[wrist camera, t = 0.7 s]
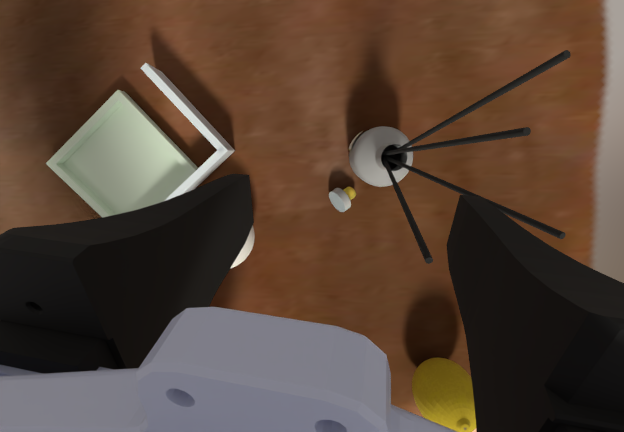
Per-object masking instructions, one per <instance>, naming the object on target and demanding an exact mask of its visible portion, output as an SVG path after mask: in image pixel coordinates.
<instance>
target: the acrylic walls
mask: <svg viewBox="0 0 624 432" xmlns="http://www.w3.org/2000/svg"><path fill="white" fill-rule="evenodd" d="M141 69H142V70H143V71H144V73H145V74H146V75H147V76H148V77H149V78H150V79H151V80H152V81H153V82H154V83H155V84H156V85H157V86H158V87H159V89H160V90H161V91H162V92H163V93H164V94H165V95H166V96H167V97H168V98H169V99H170V100H171V101H172V102H173V103H174V105H175V106H176V107H177V108H178V109H179V110H180V111H181V112H182V113H183V114H184V115H185V116H186V117H187V118H188V119H189V120H190V122H191V123H192V124H193V125H194V126H195V127H196V128H197V129H198V130H199V131H200V132H201V133H202V134H203V135H204V136H205V138H206V139H207V140H208V141H209V142H210V143H211V144H212V145H213V146H214V147H215V148H216V149H217V151H216V152H215V153H214V154H213V155H212V156H211V157H210V158H209V159H208V160H206V161H205V162H204V163H203V164H202V165H201V166H200V167H199V168H198V169H197V170H196V171H195V172H194V173H193V174H192V175H191V176H190V177H189V178H188V179H187V180H185V181H184V182H183V183H182V184H181V185H180V186H179V187H178V188H177V189H176V190H175V191H174V192H173V193H172V194H171V195H170V196H169V197H168V198H167V199H166V200H169V199H171V198H174V197H176V196H179V195H181V194H184V193H186V192H189V191H191V190H194V189H195V188H196V187H197V186H198V185H199V184H201V183H202V182H203V181H204V180H205V179H206V178H207V177H208V176H209V175H210V174H211V173H212V172H213V171H214V170H215V169H216V168H217V167H219V166H220V165H221V164H222V163H223V162H224V161H225V160H226V159H227V158H228V157H229V156H230V155H231V154H232V153H233V152H234V151H235V150H234V149H233V148H232V147H231V146H230V145H229V144H228V142H227V141H226V140H225V139H224V138H223V137H222V136H221V135H220V134H219V133H218V132H217V131H216V130H215V128H214V127H213V126H212V125H211V124H210V123H209V122H208V121H207V120H206V119H205V118H204V117H203V116H202V114H201V113H200V112H199V111H198V110H197V109H196V108H195V107H194V106H193V105H192V104H191V103H190V102H189V100H188V99H187V98H186V97H185V96H184V95H183V94H182V93H181V92H180V91H179V90H178V89H177V88H176V86H175V85H174V84H173V83H172V82H171V81H170V80H169V79H168V78H167V77H166V76H165V75H164V74H163V72H162V71H160V70H158V69H156V68H154V67H153V66H151V65H149V64H147V63H145V64H144V65H143V66H142V67H141ZM166 200H165V201H166Z"/></svg>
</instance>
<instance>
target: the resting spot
mask: <svg viewBox="0 0 624 432" xmlns="http://www.w3.org/2000/svg"><path fill="white" fill-rule="evenodd" d="M46 164H47V165H48V166H49V167H50V168H51V169H52V170H53V171H54V172H55V173H56V174H57V175H58V176H59V177H60V178H61V179H62V180H63V181H64V182H66V183H67V184H68V185H69V186H70V187H71V188H72V189H73V190H74V191H75V192H76V193H77V194H78V195H79V196H80V197H81V198H82V199H83V200H84V201H85V202H87V203H88V204H89V205H90V206H91V207H92V208H93V209H94V210H95V211H96V212H97V213H98V214H99V215H100V216H101V217H102V218H103V217H108V216H112V215H116V214H121V213H125V212H130V211H134V210H137V209H141V208H144V207H148V206H151V205H154V204H157V203H160V202H163V201H165V200H166V199H167V198H168V197H169V196H170V195H171V194H172V193H173V192H174V191H175V190H176V189H177V188H178V187H179V186H180V185H181V184H182V183H183V182H184V181H185V180H187V179H188V178H189V177H190V176H191V175H192V174H193V173H194V172H195V171H196V170H197V169H198V167H197V166H196V165H195V164H194V163H193V162H192V161H191V160H190V159H189V158H188V157H187V156H186V155H185V153H184V152H183V151H182V150H181V149H180V148H179V147H178V146H177V145H176V144H175V143H174V142H173V141H172V140H171V139H170V138H169V137H168V136H167V135H166V134H165V133H164V132H163V131H162V130H161V129H160V127H159V126H158V125H157V124H156V123H155V122H154V121H153V120H152V119H151V118H150V117H149V116H148V115H147V114H146V113H145V112H144V111H143V110H142V109H141V108H140V107H139V106H138V105H137V104H136V102H135V101H134V100H133V99H132V98H131V97H130V96H129V95H128V94H127V93H126V92H124V91H121V90H117V91H116V92H115V93H114V94H113V95H112V96H111V97H110V98H109V99H108V100H107V101H106V102H105V103H104V104H103V105H102V106H101V107H100V108H99V110H98V111H97V112H96V113H95V114H94V115H93V116H92V117H91V118H90V119H89V120H88V121H87V122H86V123H85V124H84V125H83V126H82V127H81V128H80V129H79V130H78V131H77V132H76V133H75V134H74V135H73V136H72V137H71V138H70V139H69V140H68V141H67V142H66V143H65V144H64V145H63V146H62V147H61V148H60V149H59V150H58V151H57V152H56V153H55V155H54V156H53V157H52V158H51V159H50V160H49V161H48V162H47V163H46Z"/></svg>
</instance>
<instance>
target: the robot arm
mask: <svg viewBox="0 0 624 432" xmlns="http://www.w3.org/2000/svg"><path fill="white" fill-rule="evenodd" d="M253 223H254V221H253V210H252V200H251V190H250V179H249V175H243V174H230V175H227V176H224V177H221V178H219V179H217V180H214V181H212V182H210V183H207V184H205V185H203V186H200V187H198V188H196V189H194V190H191V191H189V192H186V193H184V194H181V195H179V196H176V197H174V198H171V199H169V200H166V201H163V202H160V203H157V204H154V205H151V206H148V207H144V208H141V209H137V210H134V211H130V212H125V213H121V214H116V215H112V216H108V217H103V218H98V219H92V220H86V221H79V222H72V223H64V224H56V225H44V226H33V227H20V228H13V229H10V230H8V231H6V232H4V233H3V234H1V235H0V432H457V431H455V430H452V429H450V428H448V427H445V426H443V425H440V424H438V423H435V422H433V421H430V420H428V419H425V418H423V417H421V416H418V415H416V414H413V413H411V412H408V411H406V410H403V409H401V408H399V407H396V406H394V405H391V374H390V369H389V364H388V360H387V355H386V354H385V353H384V352H382V351H381V350H380V349H379V348H378V347H377V346H376V345H375V344H374V343H372V342H371V341H370V340H369V339H368V338H367V337H365V336H364V335H361V334H358V333H355V332H353V331H350V330H347V329H344V328H341V327H338V326H333V325H327V324H320V323H314V322H308V321H302V320H295V319H289V318H283V317H276V316H270V315H264V314H257V313H251V312H245V311H239V310H232V309H226V308H220V307H209V305H210V303H211V301H212V299H213V297H214V295H215V293H216V291H217V289H218V288H219V286H220V284H221V283H222V281H223V279H224V278H225V276H226V274H227V273H228V271H229V270H230V268H231V266H232V265H233V263H234V261H235V260H236V258H237V256H238V255H239V253H240V251H241V250H242V248H243V246H244V244H245V243H246V240H247V238H248V236H249V233H250V231H251V228H252V225H253ZM447 253H448V263H449V270H450V275H451V279H452V283H453V286H454V290H455V294H456V298H457V302H458V305H459V309H460V313H461V317H462V321H463V324H464V329H465V334H466V340H467V347H468V354H469V361H470V370H471V378H472V387H473V396H474V407H475V418H476V429H477V432H624V283H622V282H619V281H617V280H615V279H613V278H610V277H608V276H606V275H604V274H602V273H600V272H598V271H595V270H593V269H591V268H589V267H587V266H585V265H583V264H581V263H579V262H578V261H576V260H574V259H572V258H570V257H568V256H567V255H565V254H563V253H561V252H559V251H558V250H556V249H554V248H553V247H551V246H549V245H548V244H546V243H545V242H543V241H542V240H540V239H539V238H537V237H535V236H534V235H532V234H531V233H530V232H528V231H527V230H525V229H524V228H522V227H521V226H520V225H518V224H517V223H516V222H514V221H513V220H511V219H510V218H509V217H508V216H506V215H505V214H504V213H502V212H501V211H500V210H498V209H497V208H496V207H494V206H493V205H492V204H490V203H489V202H487V201H486V200H485V199H483V198H481V197H477V196H467V195H460V198H459V201H458V205H457V209H456V212H455V216H454V220H453V224H452V227H451V231H450V235H449V238H448V242H447Z"/></svg>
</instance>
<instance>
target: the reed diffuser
mask: <svg viewBox="0 0 624 432" xmlns="http://www.w3.org/2000/svg"><path fill="white" fill-rule="evenodd" d="M569 57H570V52H569V51H568V50H566V51H564V52H562V53H560V54H559V55H557V56H555V57H553V58H552V59H550V60H548V61H547V62H545V63H543V64H541V65H540V66H538V67H536V68H535V69H533V70H531V71H529V72H528V73H526V74H524V75H523V76H521V77H519V78H517V79H516V80H514V81H512V82H511V83H509V84H507V85H505V86H504V87H502V88H500V89H499V90H497V91H495V92H493V93H492V94H490V95H488V96H487V97H485V98H483V99H481V100H480V101H478V102H476V103H475V104H473V105H471V106H469V107H468V108H466V109H464V110H463V111H461V112H459V113H457V114H456V115H454V116H452V117H451V118H449V119H447V120H445V121H444V122H442V123H440V124H439V125H437V126H435V127H433V128H432V129H430V130H428V131H427V132H425V133H423V134H421V135H420V136H418V137H416V138H415V139H413V140H411V141H409V140H408V138H407V137H406V136H405V135H404V134H403V133H402V132H401V131H399V130H397V129H395V128H392V127H386V126H380V127H375V128H372V129H370V130H368V131H366V132H364V133H362V134H361V135H360V136H358V135H359V134H360V133H361V132H360V133H359V134H358V135H357V136H356V137H355V138H354V139H353V140H352V142H351V144H350V146H349V149H348V150H350V153H349V161H350V165H351V168H352V170H353V171H354V173H355V174H356V175H357V176H358V177H359V178H361V179H362V180H363V181H365V182H367V183H368V184H370V185H374V186H380V187H383V186H390V185H393V186H394V189H395V191H396V193H397V196H398V198H399V200H400V203H401V205H402V207H403V210H404V212H405V214H406V217H407V219H408V222H409V224H410V226H411V229H412V231H413V233H414V236H415V238H416V240H417V243H418V245H419V247H420V250H421V252H422V254H423V257H424V259H425V262H426V263H428V264H429V263H432V261H433V259H432V257H431V255H430V252H429V250H428V248H427V246H426V244H425V242H424V240H423V237H422V235H421V233H420V231H419V229H418V227H417V225H416V222H415V220H414V218H413V216H412V214H411V212H410V210H409V207H408V205H407V203H406V201H405V199H404V197H403V194H402V192H401V190H400V188H399V186H398V184H397V182H399V181H400V180H401V179H403V178H404V177H405V175H406V174H407V173H408V171H409V170H410V171H412V172H414V173H417V174H419V175H421V176H423V177H425V178H428V179H430V180H432V181H434V182H436V183H439V184H441V185H443V186H445V187H447V188H450V189H452V190H454V191H456V192H458V193H461V194H463V195H467V196H477V197H481V196H478V195H476V194H474V193H471V192H469V191H467V190H465V189H462V188H460V187H458V186H455V185H453V184H451V183H448V182H446V181H444V180H441V179H439V178H437V177H434V176H432V175H430V174H428V173H425V172H423V171H421V170H418V169H416V168H414V167H411V165H412V161H413V151H420V150H427V149H434V148H441V147H448V146H455V145H463V144H470V143H477V142H484V141H491V140H498V139H506V138H513V137H520V136H527V135H529V134H530V132H531V130H530V128H528V127H526V128H520V129H514V130H508V131H502V132H496V133H491V134H485V135H479V136H473V137H467V138H461V139H455V140H450V141H444V142H438V143H432V144H426V145H420V146H414V147H412V146H411V145H412V144H414V143H416V142H418V141H420V140H421V139H423V138H425V137H427V136H429V135H430V134H432V133H434V132H436V131H438V130H440V129H441V128H443V127H445V126H447V125H449V124H450V123H452V122H454V121H456V120H458V119H459V118H461V117H463V116H465V115H467V114H468V113H470V112H472V111H474V110H476V109H477V108H479V107H481V106H483V105H485V104H486V103H488V102H490V101H492V100H494V99H495V98H497V97H499V96H501V95H503V94H504V93H506V92H508V91H510V90H512V89H513V88H515V87H517V86H519V85H521V84H522V83H524V82H526V81H528V80H530V79H531V78H533V77H535V76H537V75H539V74H540V73H542V72H544V71H546V70H548V69H549V68H551V67H553V66H555V65H557V64H558V63H560V62H562V61H564V60H566V59H567V58H569ZM362 132H363V131H362ZM355 139H356V140H355ZM355 196H356V192H355V190H354V189H353V188H352V187H347V188H345V189H344V190H342V189H340V188H335V189H334V190H333V191H331V192H330V193H329V198H330V200H331V202H332V204H333V205H334V207H335V208H336V209H337V210H339V211H340V212H344V211H346V210H347V209H348V208H350V207H351V201H350V200H351V199H353V198H354V197H355ZM481 198H483V197H481ZM483 199H485V198H483ZM485 200H486V201H487V202H489V203H490V204H492V205H493V206H494V207H496V208H497V209H498V210H500V211H501V212H502V213H505V214H507V215H509V216H511V217H513V218H516V219H518V220H520V221H522V222H524V223H527V224H529V225H531V226H533V227H535V228H538V229H540V230H542V231H544V232H546V233H549V234H551V235H553V236H555V237H557V238H560V239H563V238H564V237H565V233H564V232H562V231H559V230H557V229H555V228H552V227H550V226H548V225H545V224H543V223H541V222H538V221H536V220H534V219H532V218H529V217H527V216H525V215H522V214H520V213H518V212H515V211H513V210H511V209H508V208H506V207H504V206H501V205H499V204H497V203H495V202H492V201H490V200H488V199H485Z"/></svg>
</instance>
